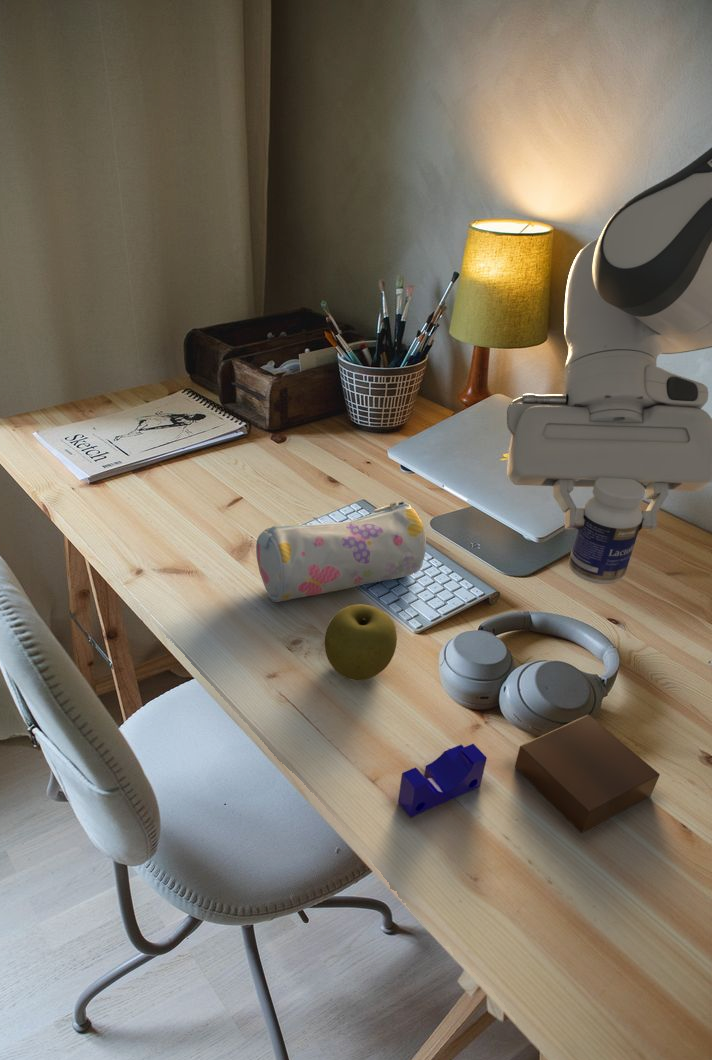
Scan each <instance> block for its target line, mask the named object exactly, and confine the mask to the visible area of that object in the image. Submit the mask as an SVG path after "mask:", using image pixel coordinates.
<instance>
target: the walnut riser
mask: <svg viewBox="0 0 712 1060" xmlns="http://www.w3.org/2000/svg"><path fill="white" fill-rule="evenodd" d="M514 768H515V770H517V771H518V772H519V773H520V774H521V775H522V776H523V777H524V778H525V779H526V780H527V781H528V782H529V783H530V784H531V785H532V786H533V787H534V788H535V789H536V791H538V792H539V793H540V794H542V796H543V797H544V798H545V799H546V800H547V801H548V802H549V803H550V804H552V805H553V806H554V807H555V809H556V810H558V812H560V813H561V814H562V815H563V816H564V817H565V818H566V819H567V820H568V821H569V822H570V823H571V824H572V825H573V827H575V828H576V829H577V830H578V831H579V832H580V833H584V832H586V831H588V830H591V829H592V828H594V827H595V826H597V825H599V824H601V823H603V822H605V821H607V820H608V819H610V818H612V817H615V816H616V815H618V814H620V813H621V812H624V811H626V810H627V809H629V808H631V807H633V806H635V805H636V804H638V803H640V802H642V801H644V800H646V799H648V798H650V797H651V796H652V795H653V792H654V790H655V787H656V785H657V782H658V780H659V778H660V775H661V774H660V773H659V772H658V771H657V770H655V768H654V767H652V766H651V765H650V764H649V763H647V762H646V761H645V760H643V759H642V758H641V757H640V756H639V755H638V754H637V753H635V752H634V751H633V750H632V749H631V748H630V747H628V746H627V745H626V744H624V743H623V741H622V740H619V738H618V737H616V736H615V735H614V734H613V733H612V732H610V731H609V730H608V729H607V728H605V727H604V726H603V725H602V724H601V723H599V722H598V721H597V720H596V719H595V718H594V717H592V716H591V715H590V714H587V715H585V716H584V715H583V716H582V717H580V718H577V719H576V720H572V721H571V722H569V723H567V724H565V725H563V726H561V727H558V728H556V729H554V730H552V731H550V732H548V733H545V734H543V735H540V736H539V737H537V738H534V739H532V740H530V741H528V742H525V743H523V744H521V745H520V746H519V749H518V752H517V757H516V760H515V764H514Z"/></svg>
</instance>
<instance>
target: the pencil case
mask: <svg viewBox="0 0 712 1060" xmlns="http://www.w3.org/2000/svg"><path fill="white" fill-rule="evenodd" d="M426 537H427V536H426V532H425V527H424V525H423V522H422V520H421V518H420V516H419V515H418V514H417V512H416V510H415V509H414V508H413V507H411V504H410V503H406V502H404V501H402V500H399V501H397V502H396V501H393V502H391V503H390V504H388V505H385V506H382V507H381V506H380V507H378V508H375V509H374V510H373V512H372V513H371V514H368V515H364V516H362V517H359V518H355V519H351V520H347V521H346V520H345V521H339V522H338V521H335V522H322V523H313V524H289V525H287V524H286V525H273V526H271V527H268V528H266V529H264V530H263V531H262V532H261V533H260V534H259V535H258V537H257V538H256V539H257V540H256V545H255V552H256V553H255V554H256V562H257V566H258V570H259V574H260V578H261V580H262V583H263V586H264V588H265V590H266V593H267V595H268V598H270V599H271V601H272V602H274V603H278V602H279V603H280V602H286V601H289V600H293V599H300V598H305V597H308V596H309V597H310V596H317V595H321V594H326V593H333V592H337V591H342V590H347V589H351V588H355V587H359V586H362V585H367V584H374V583H380V582H384V581H389V580H394V579H401V578H406V577H408V576H411V575H414V574H416V573H418V572H419V571H420V570H421V568H422V567H423V564H424V560H425V557H426V551H427V538H426ZM413 573H414V574H413ZM407 575H408V576H407ZM402 576H403V577H402ZM392 578H393V579H392Z"/></svg>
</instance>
